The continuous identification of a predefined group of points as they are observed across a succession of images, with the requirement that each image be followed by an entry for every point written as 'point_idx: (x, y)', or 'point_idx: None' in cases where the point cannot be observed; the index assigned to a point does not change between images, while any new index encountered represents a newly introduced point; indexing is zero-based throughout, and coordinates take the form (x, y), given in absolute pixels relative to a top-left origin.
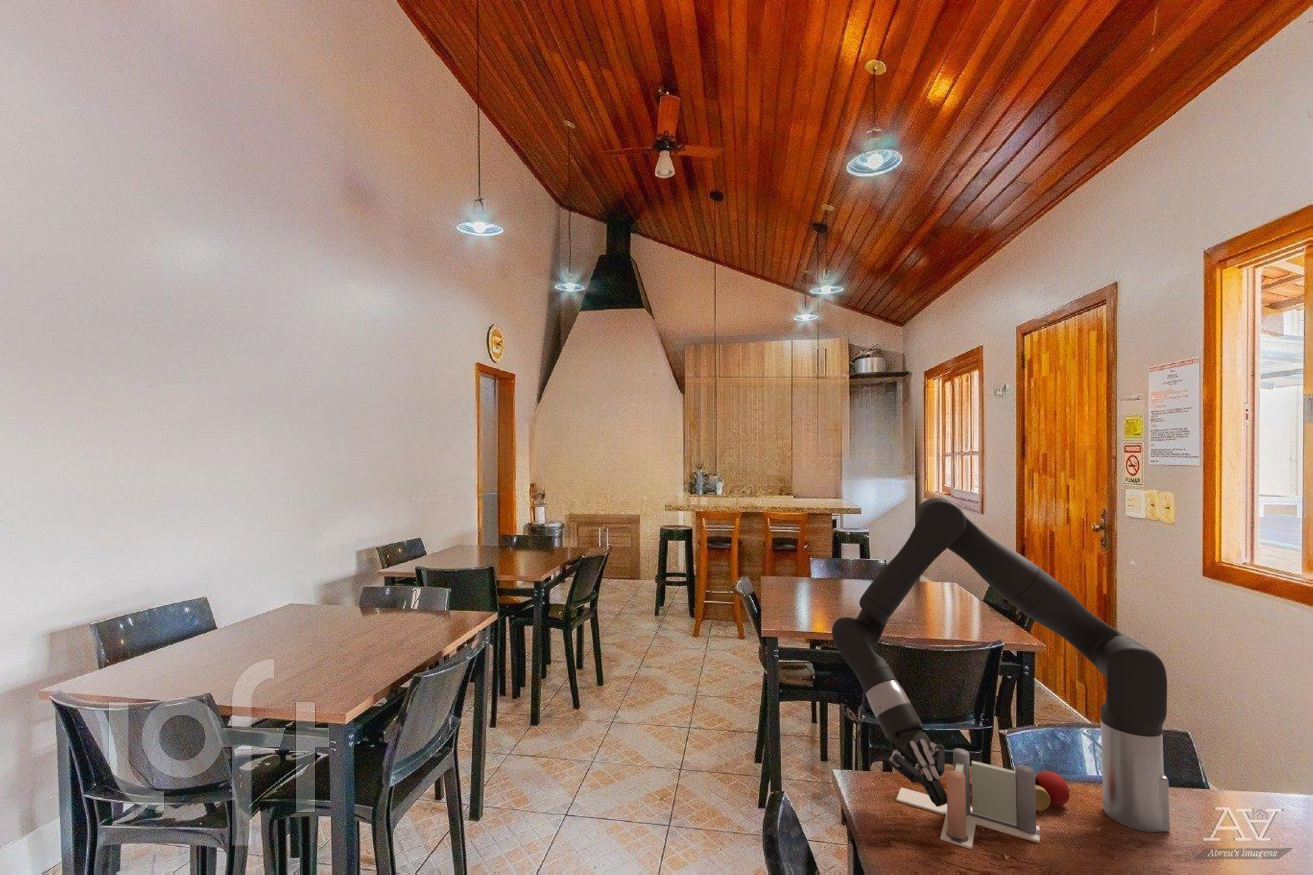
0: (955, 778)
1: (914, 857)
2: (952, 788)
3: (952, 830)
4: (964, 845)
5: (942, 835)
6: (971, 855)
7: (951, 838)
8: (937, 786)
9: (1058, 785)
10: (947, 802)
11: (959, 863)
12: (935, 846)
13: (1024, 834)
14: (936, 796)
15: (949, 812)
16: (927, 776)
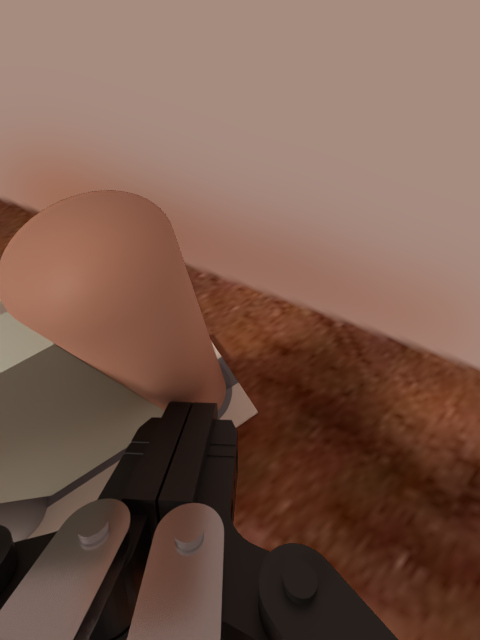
0: (161, 215)
1: (418, 379)
2: (193, 289)
3: (223, 377)
4: (216, 350)
5: (241, 416)
6: (233, 317)
7: (228, 387)
8: (171, 464)
9: None
10: (202, 377)
11: (297, 307)
12: (305, 392)
13: (3, 312)
14: (223, 437)
15: (216, 371)
16: (204, 550)
